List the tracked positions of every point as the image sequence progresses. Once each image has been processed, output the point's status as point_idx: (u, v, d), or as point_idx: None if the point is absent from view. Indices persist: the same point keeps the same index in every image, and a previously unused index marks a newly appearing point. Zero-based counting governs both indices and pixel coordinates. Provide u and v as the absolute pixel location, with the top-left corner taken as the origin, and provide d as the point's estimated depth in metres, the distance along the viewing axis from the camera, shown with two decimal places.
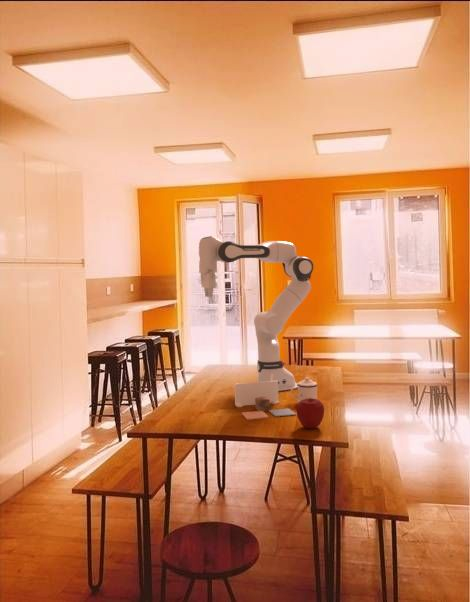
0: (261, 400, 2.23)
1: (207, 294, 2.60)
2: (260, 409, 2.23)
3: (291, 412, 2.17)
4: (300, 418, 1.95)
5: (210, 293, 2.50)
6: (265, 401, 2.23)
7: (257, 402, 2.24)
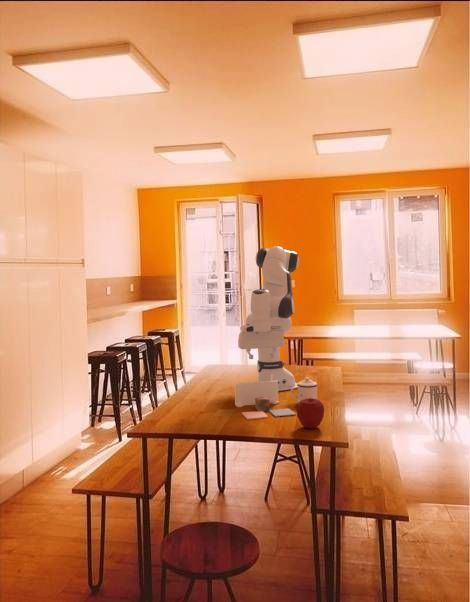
0: (261, 400, 2.23)
1: None
2: (260, 409, 2.23)
3: (291, 412, 2.17)
4: (300, 418, 1.95)
5: None
6: (265, 401, 2.23)
7: (257, 402, 2.24)
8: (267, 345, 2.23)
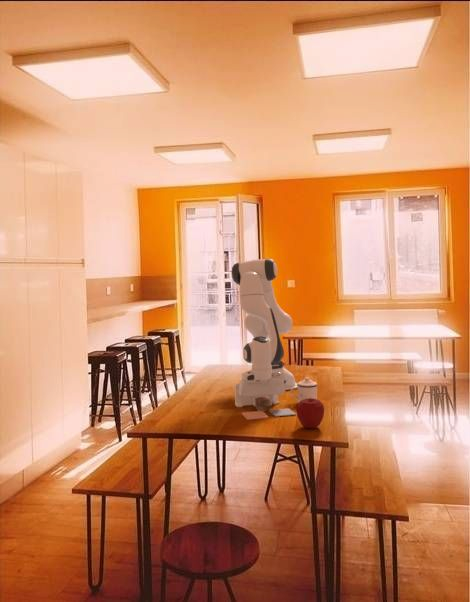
0: (261, 400, 2.23)
1: None
2: (260, 409, 2.23)
3: (291, 412, 2.17)
4: (300, 418, 1.95)
5: None
6: (265, 401, 2.23)
7: (257, 402, 2.24)
8: (268, 393, 2.24)
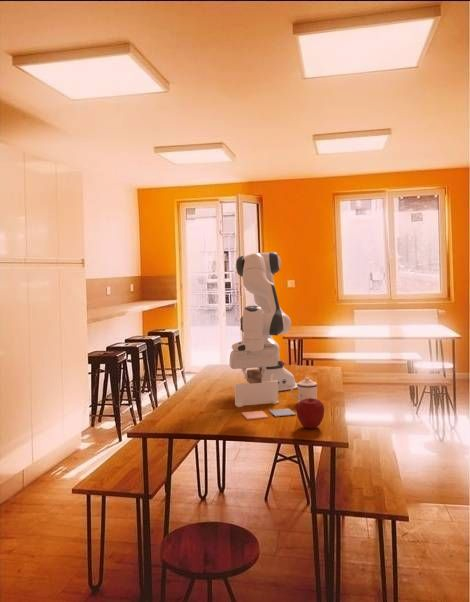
0: (252, 372, 2.12)
1: None
2: (251, 381, 2.12)
3: (291, 412, 2.17)
4: (300, 418, 1.95)
5: None
6: (257, 373, 2.12)
7: (248, 374, 2.13)
8: (260, 364, 2.13)
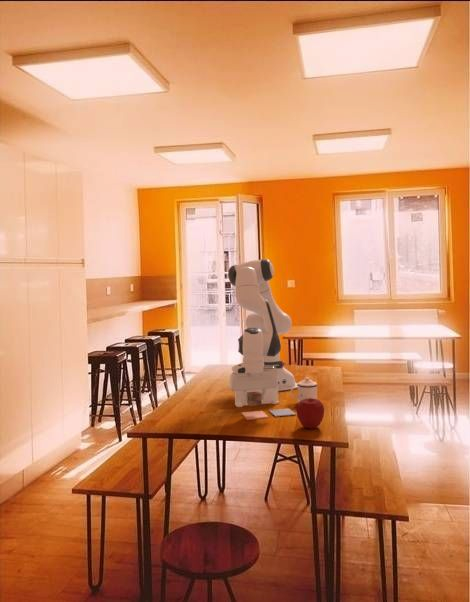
0: (252, 394, 2.13)
1: None
2: (251, 403, 2.12)
3: (291, 412, 2.17)
4: (300, 418, 1.95)
5: None
6: (257, 395, 2.13)
7: (248, 396, 2.14)
8: (260, 386, 2.14)
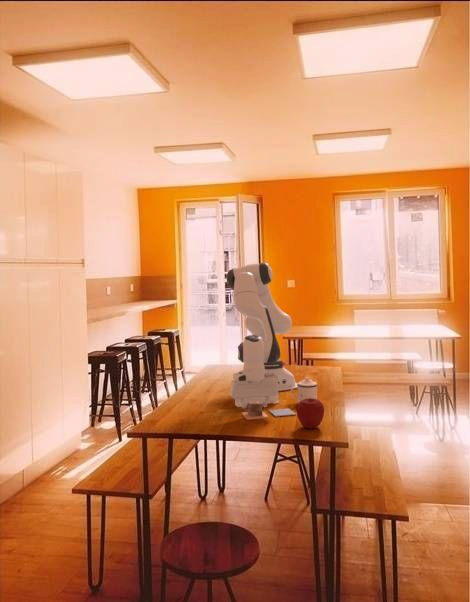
0: (253, 405, 2.13)
1: None
2: (252, 414, 2.13)
3: (291, 412, 2.17)
4: (300, 418, 1.95)
5: None
6: (257, 406, 2.13)
7: (249, 407, 2.14)
8: (260, 394, 2.14)
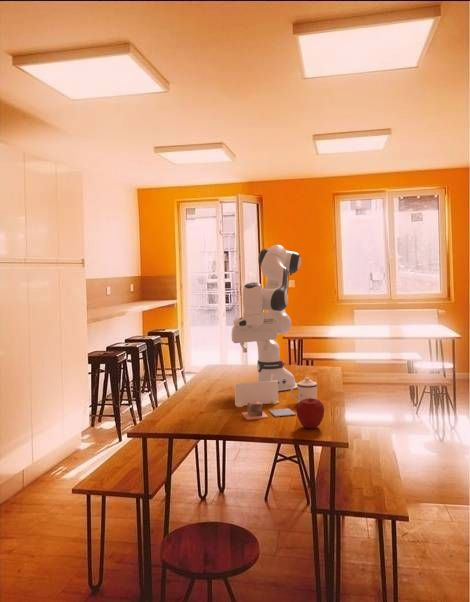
0: (253, 405, 2.13)
1: None
2: (252, 414, 2.13)
3: (291, 412, 2.17)
4: (300, 418, 1.95)
5: None
6: (257, 406, 2.13)
7: (249, 407, 2.14)
8: (260, 338, 2.25)
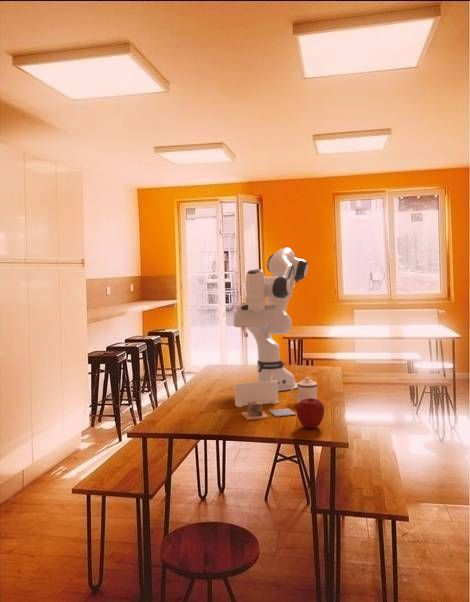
0: (253, 405, 2.13)
1: None
2: (252, 414, 2.13)
3: (291, 412, 2.17)
4: (300, 418, 1.95)
5: None
6: (257, 406, 2.13)
7: (249, 407, 2.14)
8: (261, 323, 2.30)
